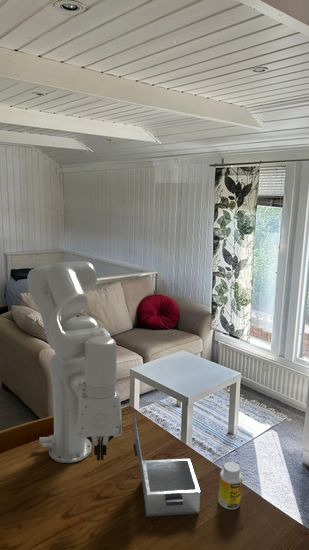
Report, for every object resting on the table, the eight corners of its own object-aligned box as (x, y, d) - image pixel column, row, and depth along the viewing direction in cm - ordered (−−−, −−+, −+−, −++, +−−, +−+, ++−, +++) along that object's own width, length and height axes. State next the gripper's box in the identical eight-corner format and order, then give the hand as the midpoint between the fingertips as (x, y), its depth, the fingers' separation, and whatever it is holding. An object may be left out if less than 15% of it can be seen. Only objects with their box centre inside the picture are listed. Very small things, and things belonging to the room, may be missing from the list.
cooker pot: (147, 521, 98) (147, 499, 97) (141, 476, 114) (142, 457, 113) (200, 518, 99) (201, 496, 98) (187, 474, 115) (188, 454, 114)
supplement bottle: (228, 514, 101) (231, 476, 99) (213, 500, 105) (215, 464, 104) (245, 505, 104) (247, 469, 102) (229, 492, 109) (232, 457, 107)
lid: (147, 493, 98) (140, 494, 98) (142, 460, 111) (137, 461, 111) (137, 439, 95) (131, 440, 95) (134, 411, 108) (128, 412, 108)
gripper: (67, 396, 94) (68, 468, 98) (132, 394, 96) (131, 465, 99) (70, 381, 102) (71, 449, 105) (130, 380, 103) (129, 447, 107)
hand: (100, 456), depth 102 cm, fingers closed
